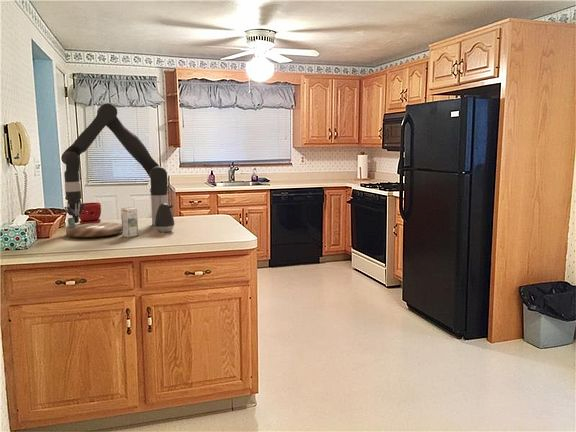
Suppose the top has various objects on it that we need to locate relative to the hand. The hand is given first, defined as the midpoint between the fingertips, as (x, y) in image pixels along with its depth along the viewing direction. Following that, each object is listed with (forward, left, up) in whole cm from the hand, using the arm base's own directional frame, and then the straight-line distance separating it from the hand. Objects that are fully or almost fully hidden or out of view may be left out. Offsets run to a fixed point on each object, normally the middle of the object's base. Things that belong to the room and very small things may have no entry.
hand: (76, 222), depth 248 cm
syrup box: (-28, +17, -5) cm, 33 cm away
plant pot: (-2, -25, -6) cm, 26 cm away
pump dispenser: (-45, +9, -5) cm, 47 cm away
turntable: (-10, +7, -4) cm, 13 cm away
